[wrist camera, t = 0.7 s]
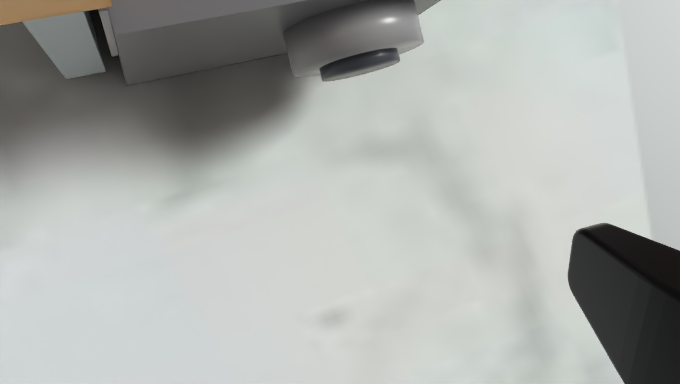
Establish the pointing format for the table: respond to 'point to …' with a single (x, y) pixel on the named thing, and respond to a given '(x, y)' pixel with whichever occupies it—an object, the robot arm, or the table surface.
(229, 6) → the block
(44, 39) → the side door
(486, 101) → the table surface
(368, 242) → the table surface
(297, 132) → the table surface
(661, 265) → the robot arm
